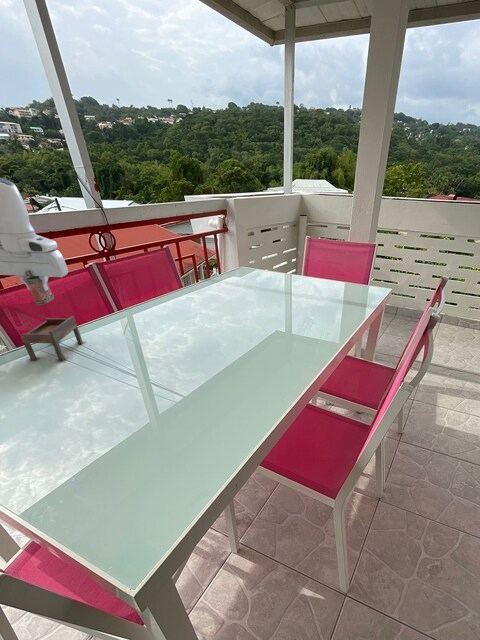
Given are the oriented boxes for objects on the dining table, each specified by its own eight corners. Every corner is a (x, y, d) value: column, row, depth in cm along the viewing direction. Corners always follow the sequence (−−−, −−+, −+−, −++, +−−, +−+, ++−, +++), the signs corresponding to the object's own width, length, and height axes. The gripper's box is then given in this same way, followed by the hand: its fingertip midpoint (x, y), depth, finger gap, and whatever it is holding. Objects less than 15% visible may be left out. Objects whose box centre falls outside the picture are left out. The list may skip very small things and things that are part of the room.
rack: (31, 360, 108) (17, 331, 103) (54, 342, 120) (43, 315, 114) (63, 360, 109) (51, 332, 104) (83, 342, 121) (73, 316, 115)
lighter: (45, 297, 110) (32, 265, 104) (56, 296, 110) (43, 265, 104) (32, 305, 103) (17, 272, 98) (44, 304, 104) (30, 271, 98)
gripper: (-26, 242, 93) (-4, 291, 101) (50, 246, 95) (66, 294, 103) (-11, 238, 99) (10, 285, 106) (62, 242, 100) (76, 288, 108)
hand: (38, 289), depth 105 cm, fingers closed on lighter, 2 cm apart
